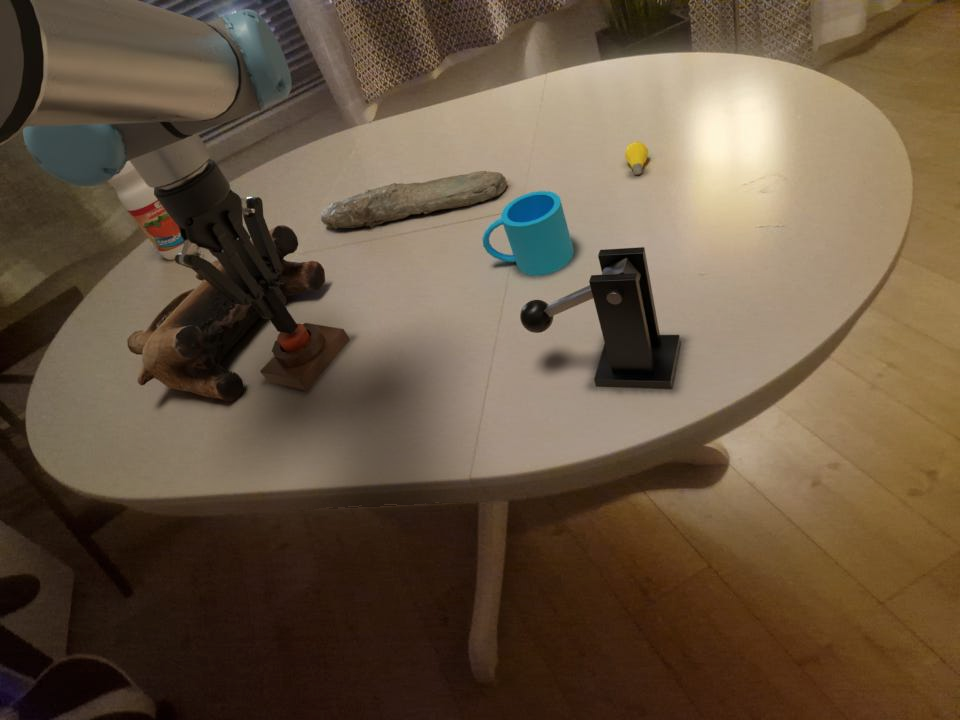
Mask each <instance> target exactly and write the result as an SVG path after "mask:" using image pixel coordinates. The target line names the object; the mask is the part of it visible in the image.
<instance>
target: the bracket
mask: <svg viewBox="0 0 960 720" xmlns="http://www.w3.org/2000/svg"><path fill="white" fill-rule="evenodd" d="M597 258H598V262H599V265H600V270H601V273H602V272H603V269H604V268H606V267H608V266H611V265H613V264H615V263H617V262H619V261H621V260H623V259H625V258H628V260H629V261H630V262H631V263H632V265H633V266H634V267H635V268H636V269H637V271H638V272H639V273H640V274H641V276H640V280H638V275H637V273H631V274H607V275H602V274H590V275H591V276H590V278H589V281H588V283H589V285H590V287H591V291H592V295H593V299H592V300H593V303H594V306H595V310H596V313H597V314H596V315H597V319H598V322H599V326H600V330H601V334H602V338H603V342H604V344H603V347H602V351H601V354H600V357H599V361H598V364H597V368H596V372H595V374H594V378H593V380H594V384H595V387H599V388H600V387H601V388H623V389H624V388H625V389H626V388H628V389H653V390H654V389H656V390H672V389H673V383H674V379H675V373H676V368H677V363H678V358H679V353H680V352H679V351H680V348H681V347H680V346H681V337H680V334H660V329H659V322H658V317H657V311H656V305H655V300H654V293H653V289H652V283H651V278H650V272H649V266H648V261H647V260H648V259H647V254H646V248H645V247H644V246H639V247H623V248H622V247H621V248H607V249H606V248H605V249H599V251H598V255H597Z"/></svg>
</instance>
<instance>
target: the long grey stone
mask: <svg viewBox="0 0 960 720" xmlns="http://www.w3.org/2000/svg"><path fill="white" fill-rule="evenodd" d="M506 179H507V178H506V176H504V175H503V173H502V172H498V171H488V170H478V171H473V172H470V173H465V174H459V175H451V176H446V177H441V178H437V179H432V180H428V181H424V182H411V183H395V182H393V183H390V184H388V185H383V186H381V187H377V188H373V189H367V190H365V191H364V192H362V193H358V194H355V195H352V196H350V197H348V198H345V199H342V200H339V201H336V202H333V203H331V204H329V205H328V206H327V207H325V208H324V209H323V210H322V212H321V214H320V216H321V217H320V221H321V222H322V224H323V225H325V226H329V227H330V228H331V229H332V228H333V229H336V230H337V229H340V228H341V229H355V228H360V227H361V228H362V227H365V226H366V227H369V228H371V229H373V227H375V226H378V225H382V224H383V223H386V222H392V221H396V220H400V219H401V220H403V219H404V218H407V217H409V216H411V215H420V214H422V213H423V214H424V215H427V214H431V213H432V212H435V211H440V210H441V211H442V210H446V209H447V210H448V209H456V208H463V207H467V206H468V207H471V206H472V205H475V204H477V203H480V202H481V203H482V202H485V201H487V200H490V199H493V198H496V197H498V196H500V195H501V194H502V193H504V191H505V190H506V188H507V185H508V184H507V183H508V181H507V180H506Z"/></svg>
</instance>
